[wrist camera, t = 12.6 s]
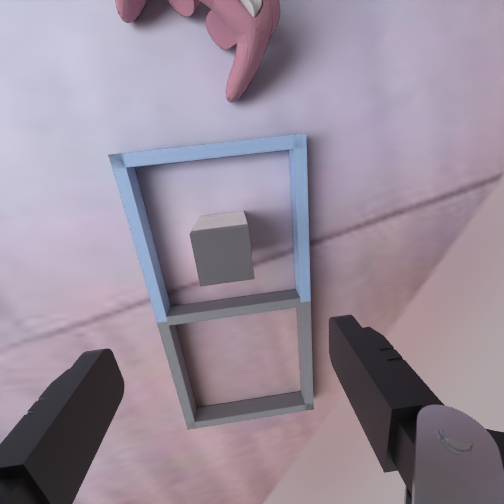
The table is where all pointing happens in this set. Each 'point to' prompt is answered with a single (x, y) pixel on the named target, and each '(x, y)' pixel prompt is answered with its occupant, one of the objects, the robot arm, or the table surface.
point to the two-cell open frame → (232, 306)
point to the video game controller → (227, 31)
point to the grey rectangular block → (222, 248)
